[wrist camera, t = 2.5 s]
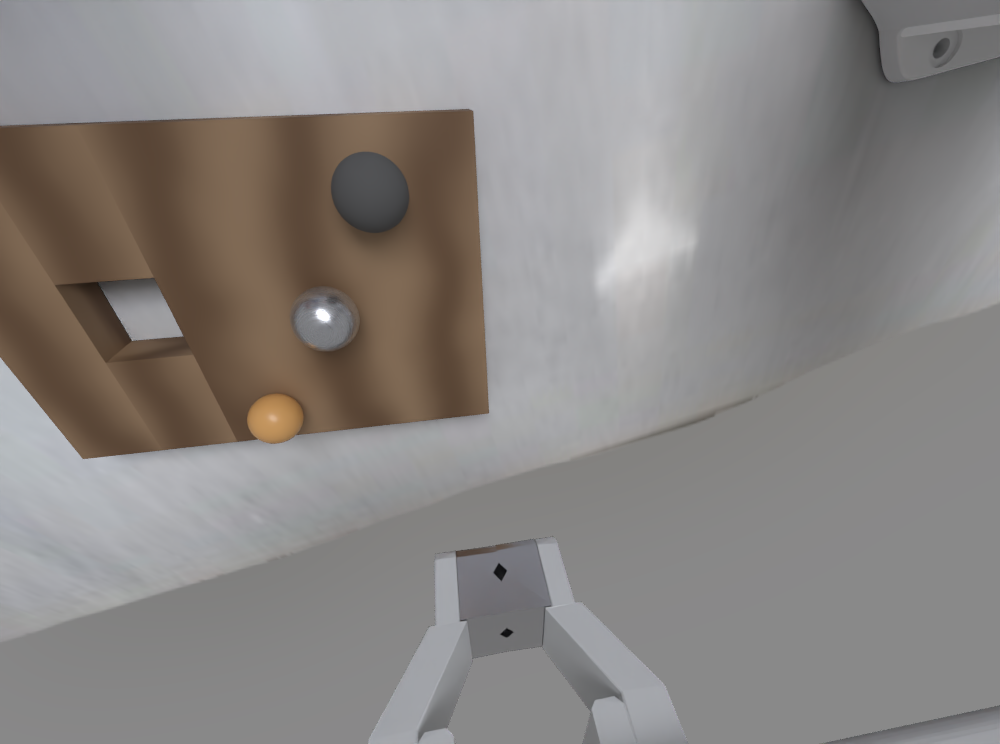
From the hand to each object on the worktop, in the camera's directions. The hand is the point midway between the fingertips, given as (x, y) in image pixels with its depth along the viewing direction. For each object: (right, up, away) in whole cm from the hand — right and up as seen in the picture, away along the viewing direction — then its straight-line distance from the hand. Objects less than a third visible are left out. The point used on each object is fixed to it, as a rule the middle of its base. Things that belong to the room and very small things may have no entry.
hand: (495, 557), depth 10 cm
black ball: (-6, +13, +9) cm, 16 cm away
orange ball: (-13, +2, +15) cm, 20 cm away
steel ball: (-9, +7, +12) cm, 16 cm away
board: (-14, +9, +15) cm, 22 cm away
